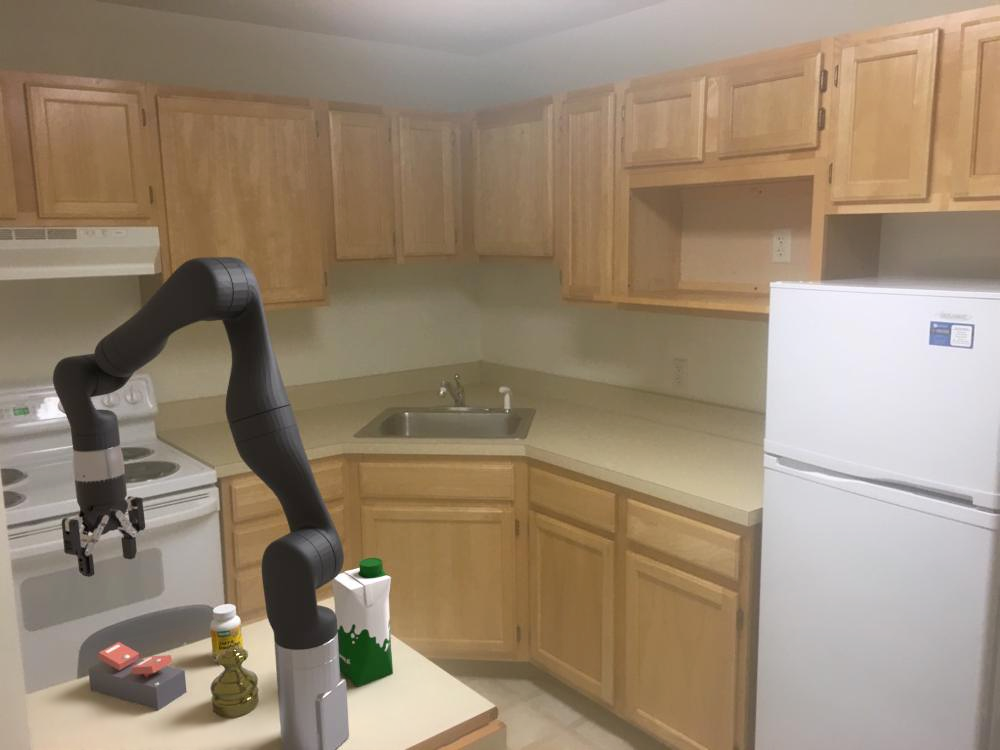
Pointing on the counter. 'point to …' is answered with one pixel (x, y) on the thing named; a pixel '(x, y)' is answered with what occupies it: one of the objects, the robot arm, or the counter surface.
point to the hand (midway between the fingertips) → (109, 566)
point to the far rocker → (118, 656)
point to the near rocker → (151, 665)
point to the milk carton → (363, 622)
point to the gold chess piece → (234, 685)
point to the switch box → (138, 684)
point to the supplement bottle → (225, 629)
